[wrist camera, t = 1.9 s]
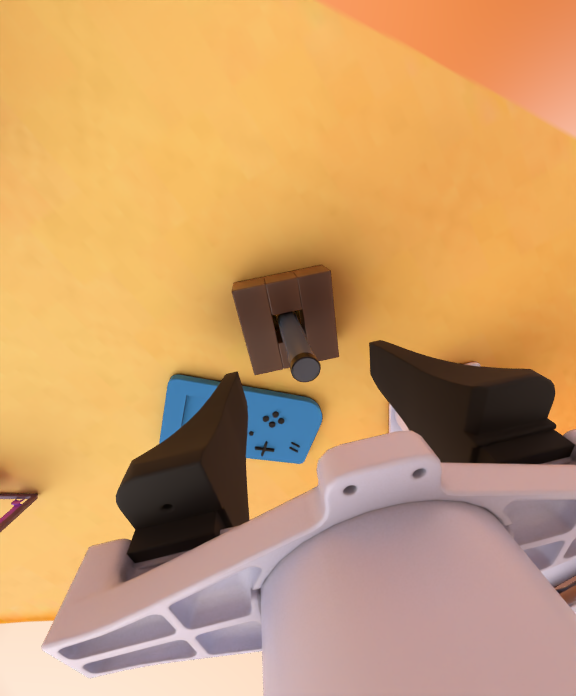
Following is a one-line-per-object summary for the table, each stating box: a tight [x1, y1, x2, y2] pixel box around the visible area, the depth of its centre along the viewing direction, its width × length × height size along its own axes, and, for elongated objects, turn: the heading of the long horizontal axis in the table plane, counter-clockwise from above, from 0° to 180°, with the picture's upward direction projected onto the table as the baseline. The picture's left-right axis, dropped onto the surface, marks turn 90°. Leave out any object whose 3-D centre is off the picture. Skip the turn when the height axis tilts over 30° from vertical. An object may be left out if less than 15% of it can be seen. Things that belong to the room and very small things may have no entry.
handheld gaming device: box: [160, 374, 322, 464], centre depth 26 cm, size 8×1×15 cm
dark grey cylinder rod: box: [276, 311, 321, 382], centre depth 19 cm, size 2×2×9 cm
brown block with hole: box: [232, 265, 339, 375], centre depth 21 cm, size 7×7×3 cm
